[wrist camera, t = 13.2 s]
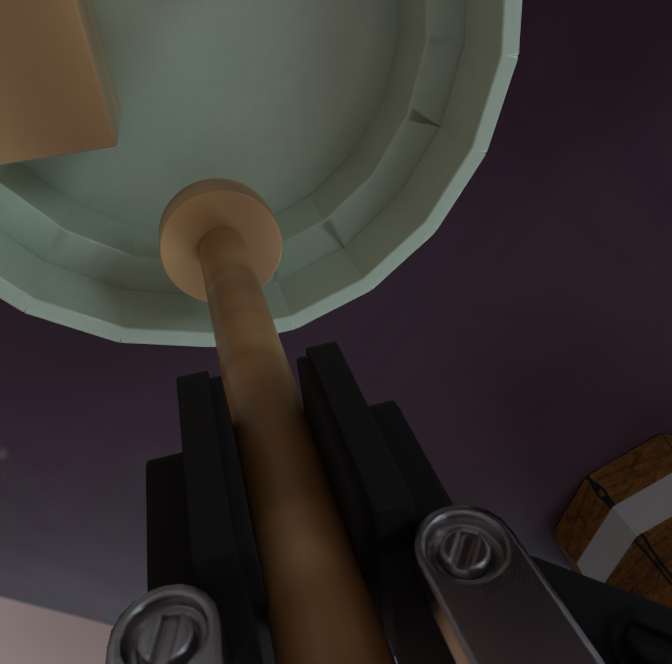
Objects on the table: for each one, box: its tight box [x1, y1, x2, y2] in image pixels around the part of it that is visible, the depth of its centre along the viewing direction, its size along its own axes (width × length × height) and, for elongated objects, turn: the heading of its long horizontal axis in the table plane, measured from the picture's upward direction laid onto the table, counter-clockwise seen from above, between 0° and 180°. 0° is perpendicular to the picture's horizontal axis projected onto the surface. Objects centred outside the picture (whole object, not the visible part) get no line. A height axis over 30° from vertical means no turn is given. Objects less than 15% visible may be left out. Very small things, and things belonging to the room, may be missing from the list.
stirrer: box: [158, 178, 396, 664], centre depth 13 cm, size 4×4×15 cm
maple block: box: [0, 0, 122, 165], centre depth 18 cm, size 4×4×4 cm
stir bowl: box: [0, 0, 522, 347], centre depth 19 cm, size 18×18×6 cm
